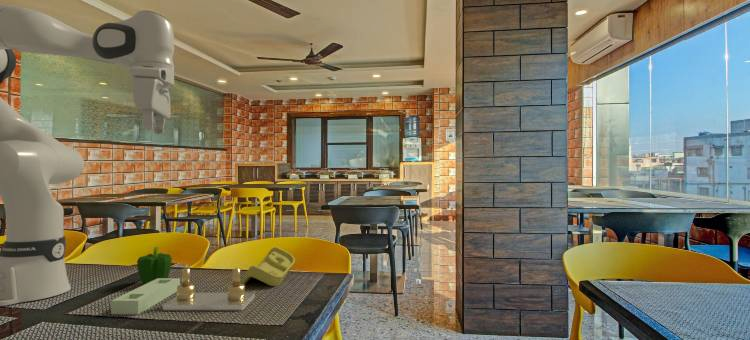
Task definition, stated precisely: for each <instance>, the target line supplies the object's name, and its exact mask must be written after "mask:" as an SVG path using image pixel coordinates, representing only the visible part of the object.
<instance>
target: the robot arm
mask: <svg viewBox="0 0 750 340" xmlns="http://www.w3.org/2000/svg"><path fill="white" fill-rule="evenodd" d="M14 51H16V52H20V53H30V54H37V55H38V54H40V55H52V56H60V57H63V56H64V57H73V58H83V59H87V60H93V61H99V62H104V63H109V64H113V65H117V66H119V67H121V68H123V69H126V70H128V71H129V75H130V77H131V78H132V98H133V104H134V106H135V108H137V109H139V110H141V116H142V119H143V124H144V125H143V129H144V130H146V131H154V134H157V135H163V134H164V128H165V124H166V120H169V119H170V118H171V114H172V112H171V110H172V109H171V95H170V92H169V89H170V88H173V87H174V86H175V64H174V61H173V58H174V53H175V34H174V28H173V24H172V23H171V22H170V20H169V19H167V18H166V17H165V16H163V15H162V14H160V13H157V12H154V11H151V10H138V11H136V13H135V14H134V15H132V16H131V17H129V18H127V19H124V20H121V21H120V20H119V21H116V22H107V23H103V24H101V25H99V26H98V27H97V28H96V29H95V31H94V32H93V35H91V34H87V32H86V33H85V32H83V31H80V30H78V29H76V28H74V27H72V26H70V25H68V24H66V23H64V22H62V21H61V20H59V19H57V18H54V17H53V16H51V15H48V14H46V13H44V12H41V11H38V10H35V9H32V8H29V7H25V6H20V5H14V4H7V3H6V4H5V3H0V85H2V84H3V83H4V81H5V80H6V79H8V78H9V77H11V75H12V74H13V72H14V71H15V69H16V67H17V57H16V54H15V52H14ZM154 121H155V123H154ZM84 168H85V160H84V158H83V156H82V154H81V153H80V152H79V151H78V150H76V149H74V148H72V147H70V146H68V145H66V144H64V143H62V142H61V141H60V140H57V139H56V138H54V137H53V136H51V135H50V134H48V133H47V132H46V131H44V130H42V129H41V128H39V127H38V126H36V125H35V124H32V123H31V122H30V121H28V120H27V119H26V118H25V117H23V116H22V115H21V114H20V113H19V112H18V111H17V110H15V109H14V108H13V107H12V106H11V105H10V104H9V102H7V101H5V100H4V99H3V98H2V97H1V96H0V198H1V201H2V203H3V207H4V211H5V225H6V226H5V227H6V228H5V231H6V232H5V233H6V234H5V235H6V238H5V239H6V240H5V241H4V242H3V243H0V307H3V306H9V305H10V306H11V305H14V304H20V303H25V302H32V301H38V300H43V299H47V298H51V297H55V296H58V295H62V294H64V293H67V292H69V291H70V290H71V289H72V286H71V284H70V281H69V278H68V277H69V276H68V274H67V268H66V261H65V253H66V250H67V249H66V245H67V243H66V242H67V240H66V236H65V235H64V229H65V228H64V225H65V224H64V220H65V219H64V215H65V212H64V211H65V210H64V207H63V206H62V204H61V203H60V202H58V201H57V200H56V199H55V198H54V196H53V194H52V192H51V187H50V185H58V184H60V185H61V184H63V183H67V182H70V181H72V180H75V179H77V178H78V177H80V175H81V174H82V173H83V171H84Z"/></svg>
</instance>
